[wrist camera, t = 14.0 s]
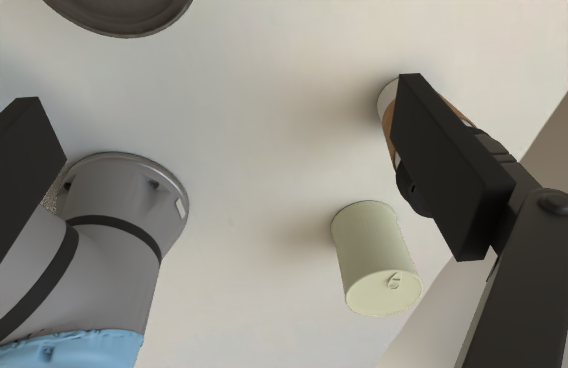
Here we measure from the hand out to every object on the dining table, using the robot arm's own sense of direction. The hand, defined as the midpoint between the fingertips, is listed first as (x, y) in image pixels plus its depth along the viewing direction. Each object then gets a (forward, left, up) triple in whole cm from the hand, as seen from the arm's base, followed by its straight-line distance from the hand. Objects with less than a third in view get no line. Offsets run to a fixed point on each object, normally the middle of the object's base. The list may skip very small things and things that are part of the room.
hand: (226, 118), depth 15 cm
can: (+14, -31, -25) cm, 43 cm away
